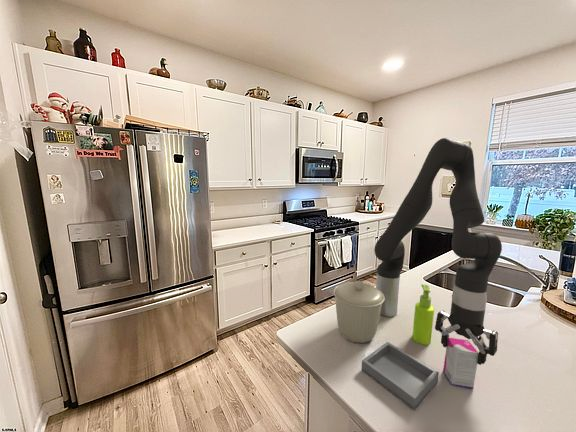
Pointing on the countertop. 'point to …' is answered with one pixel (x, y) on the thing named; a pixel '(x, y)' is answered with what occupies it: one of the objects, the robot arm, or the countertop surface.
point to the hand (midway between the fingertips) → (461, 354)
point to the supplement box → (460, 363)
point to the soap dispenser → (423, 318)
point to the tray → (400, 374)
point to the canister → (358, 310)
